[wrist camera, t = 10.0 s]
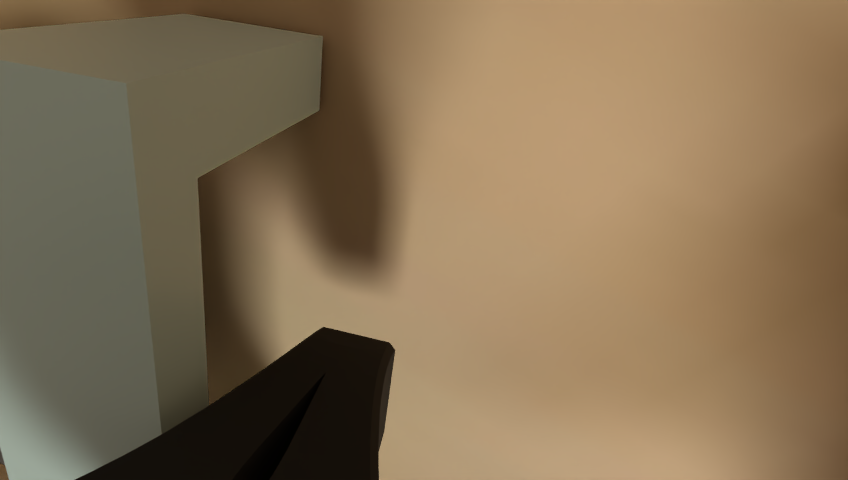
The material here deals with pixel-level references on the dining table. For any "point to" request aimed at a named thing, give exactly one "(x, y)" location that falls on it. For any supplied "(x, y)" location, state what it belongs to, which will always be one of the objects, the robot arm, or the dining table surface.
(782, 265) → the dining table surface
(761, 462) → the dining table surface
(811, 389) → the dining table surface
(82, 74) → the pale green notched block
